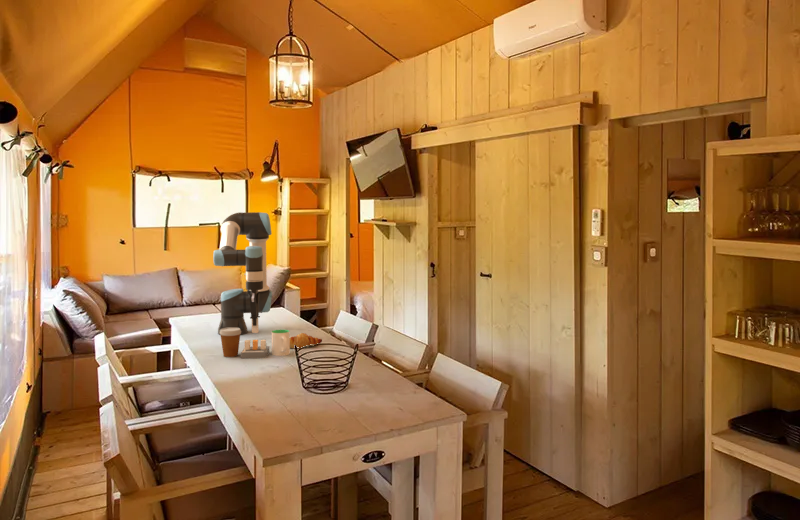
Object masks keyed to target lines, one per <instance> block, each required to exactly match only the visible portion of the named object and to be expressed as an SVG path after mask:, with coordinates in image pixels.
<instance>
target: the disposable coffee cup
mask: <svg viewBox="0 0 800 520" xmlns="http://www.w3.org/2000/svg"><path fill="white" fill-rule="evenodd" d="M219 333H220V334H219V336H220V340H221V347H222V353H223V354H222V355H223V357H224V358H235V357H238V356H239V348H240V341H241V340H240V339H241V335H242V334H241V330H240V328H234V327H233V328H223V329H221V330H220V332H219ZM240 334H241V335H240Z"/></svg>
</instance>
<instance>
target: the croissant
mask: <svg viewBox="0 0 800 520" xmlns="http://www.w3.org/2000/svg"><path fill="white" fill-rule="evenodd" d="M322 342H323V339H322V338H318V337H314V336H312V335H308V334H307V333H305V332H301V333H299V334H297V335H296V336H295V335H294V336H290V349H294V345H296V346H297V347H299V348H298V349H302V348H301V347H303V346H306V345H310V344H317V343H320V344H321V343H322Z"/></svg>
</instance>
